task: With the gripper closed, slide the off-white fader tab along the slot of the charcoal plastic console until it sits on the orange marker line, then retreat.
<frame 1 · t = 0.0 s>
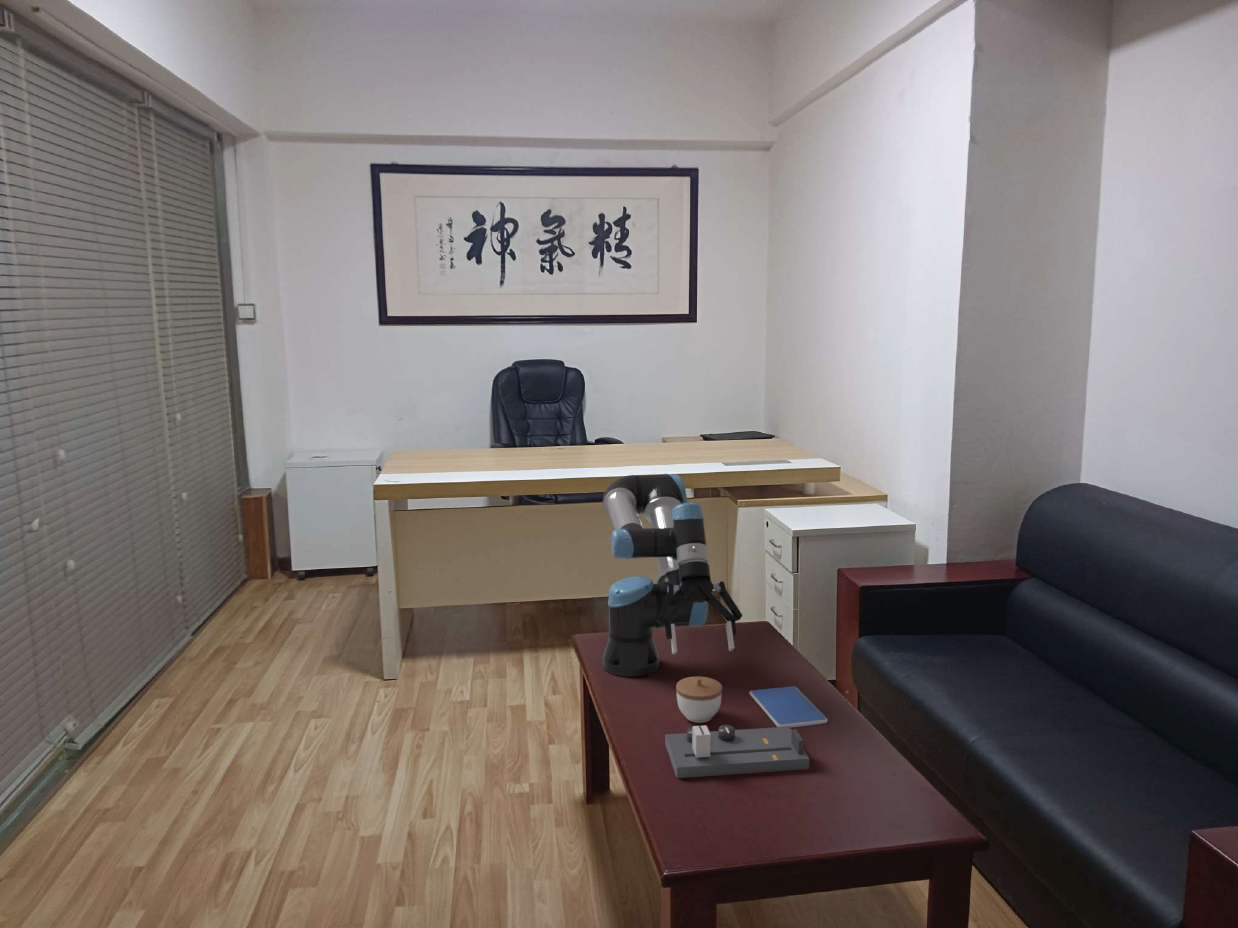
hand: (703, 651, 209), 15 cm above the table, tool tilted 35°, fingers open, 13 cm apart
tablet computer: (787, 709, 214), on the table
console: (735, 756, 192), on the table
lidded jar: (698, 717, 210), on the table
fader tab: (701, 740, 187), point 5 cm above the table, slide at -8.0 cm
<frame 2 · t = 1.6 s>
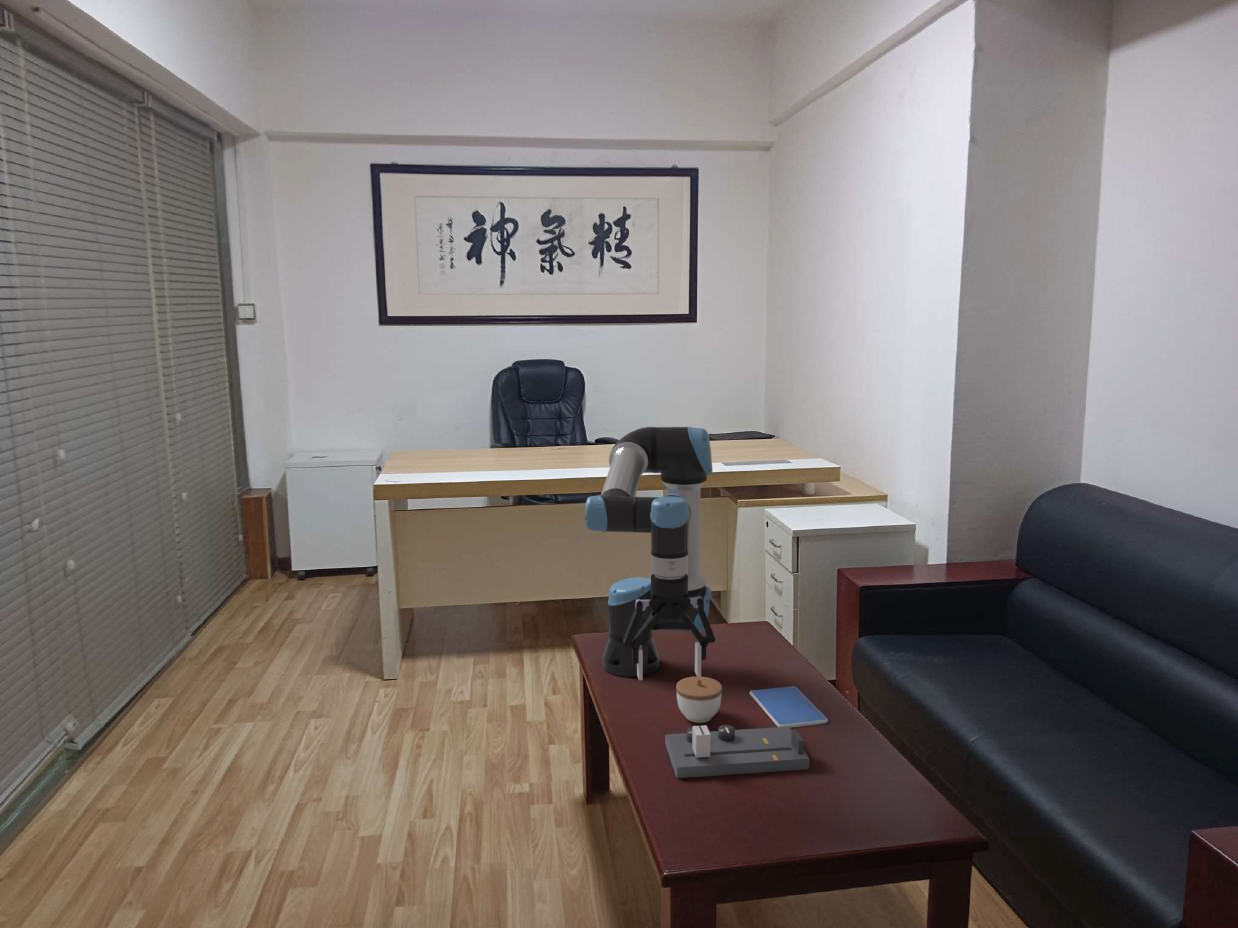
hand: (668, 675, 184), 20 cm above the table, tool pointing down, fingers open, 11 cm apart
nothing on the table moved.
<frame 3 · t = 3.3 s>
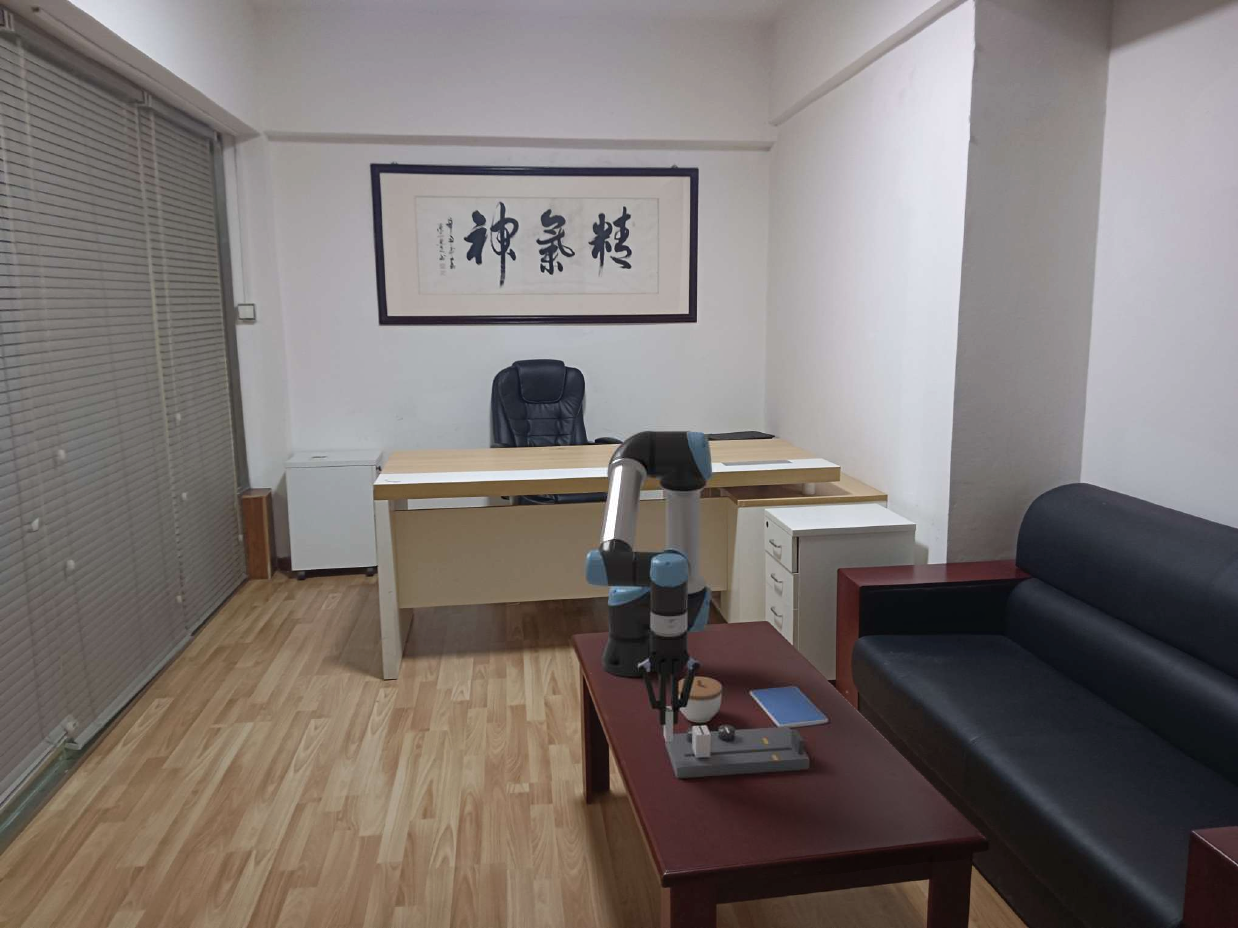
hand: (668, 737, 186), 7 cm above the table, tool pointing down, fingers closed
nothing on the table moved.
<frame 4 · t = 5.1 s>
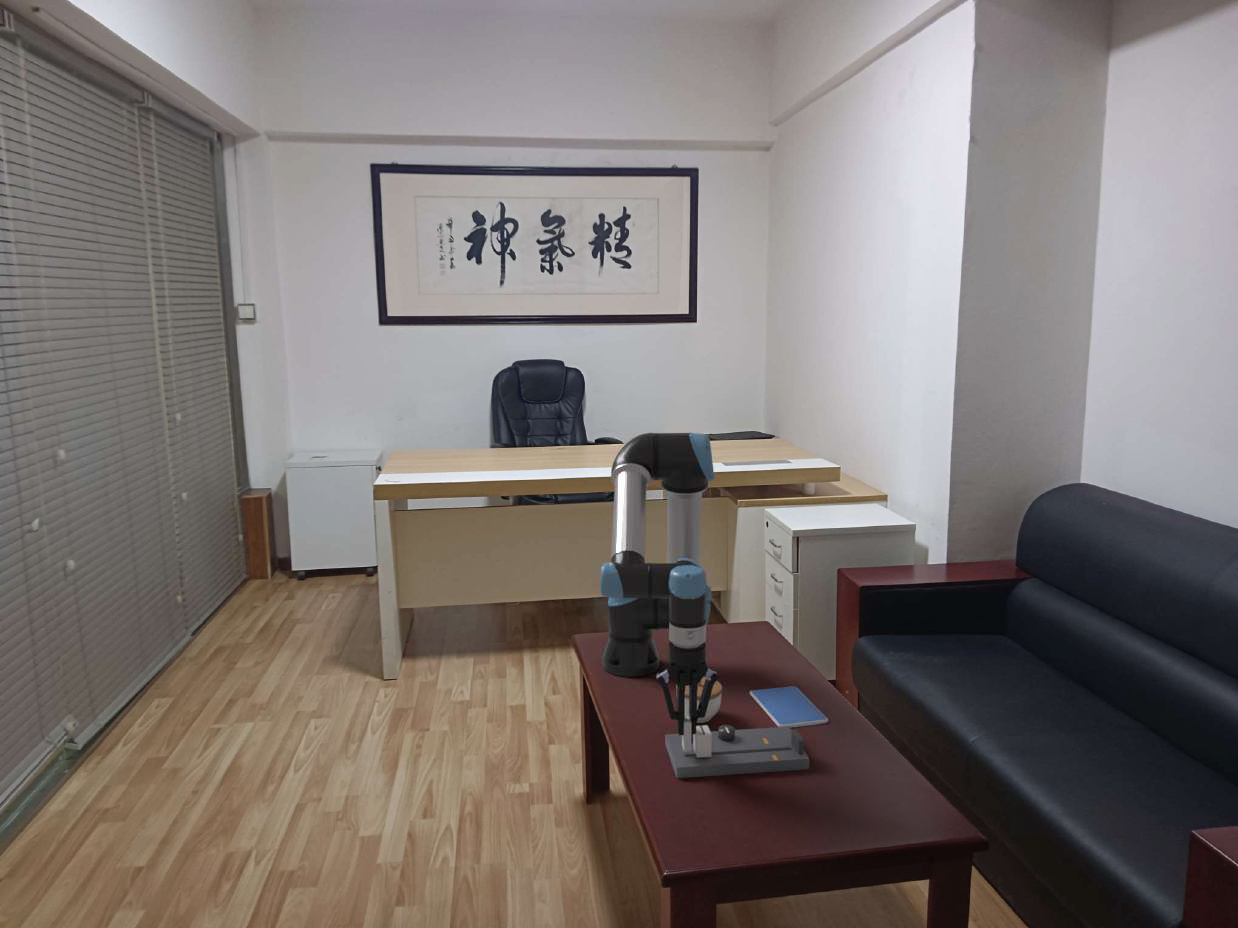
hand: (686, 747, 187), 4 cm above the table, tool pointing down, fingers closed
fader tab: (702, 740, 187), point 5 cm above the table, slide at -7.8 cm, touching gripper
everything else where it was.
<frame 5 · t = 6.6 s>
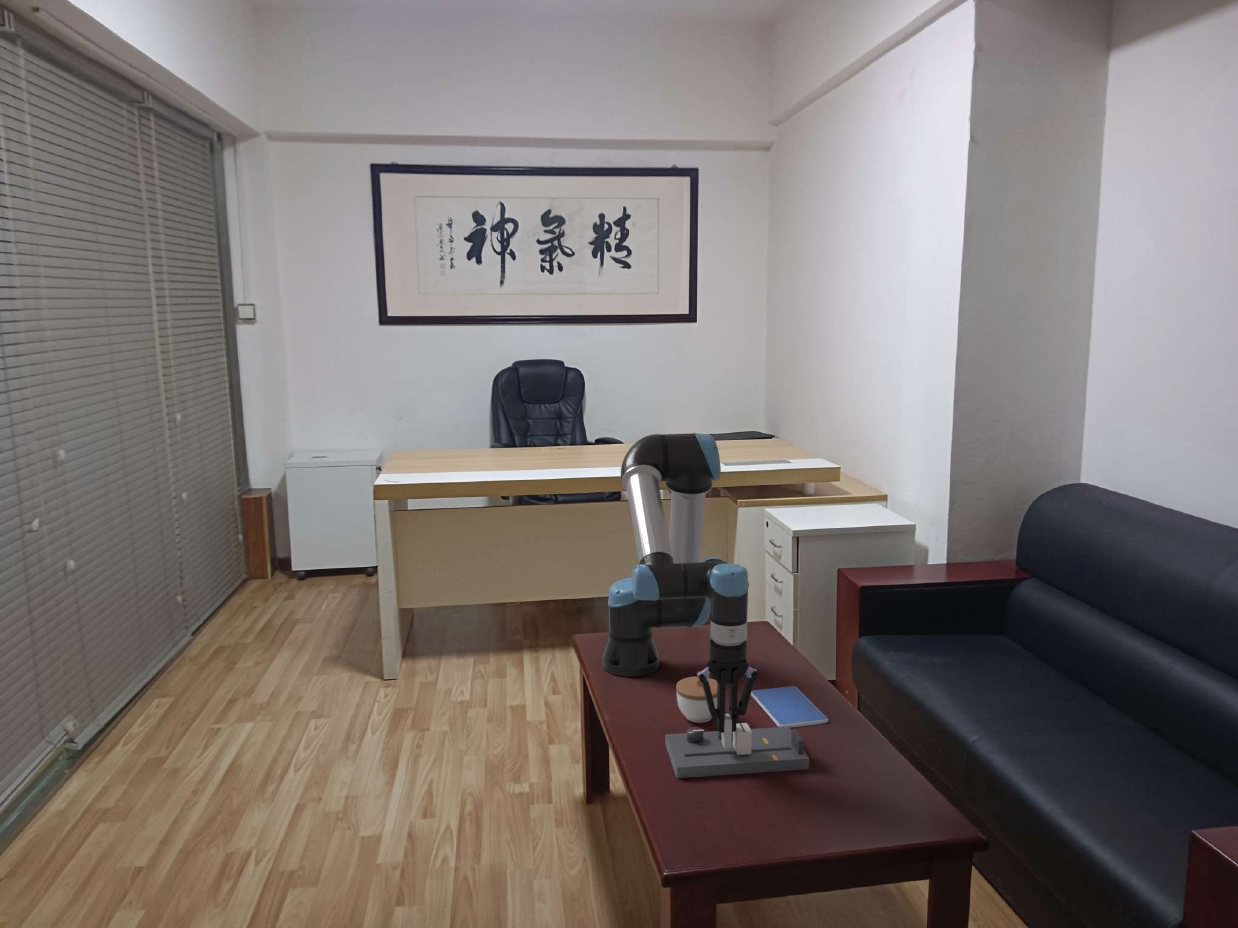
hand: (726, 745, 188), 4 cm above the table, tool pointing down, fingers closed
fader tab: (742, 738, 188), point 5 cm above the table, slide at 0.8 cm, touching gripper
everything else where it was.
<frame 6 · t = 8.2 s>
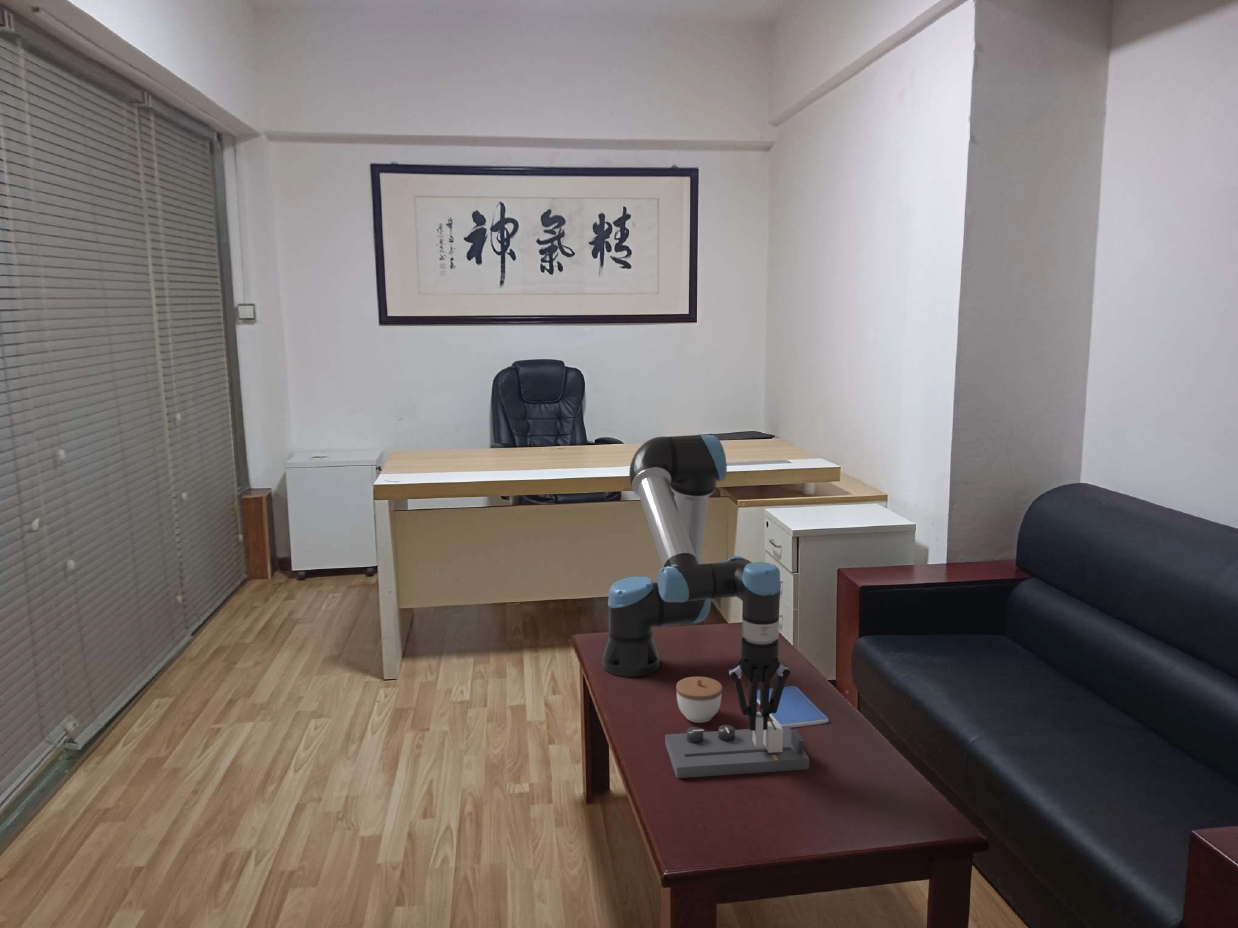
hand: (757, 743, 189), 4 cm above the table, tool pointing down, fingers closed
fader tab: (773, 736, 189), point 5 cm above the table, slide at 7.5 cm, touching gripper
everything else where it was.
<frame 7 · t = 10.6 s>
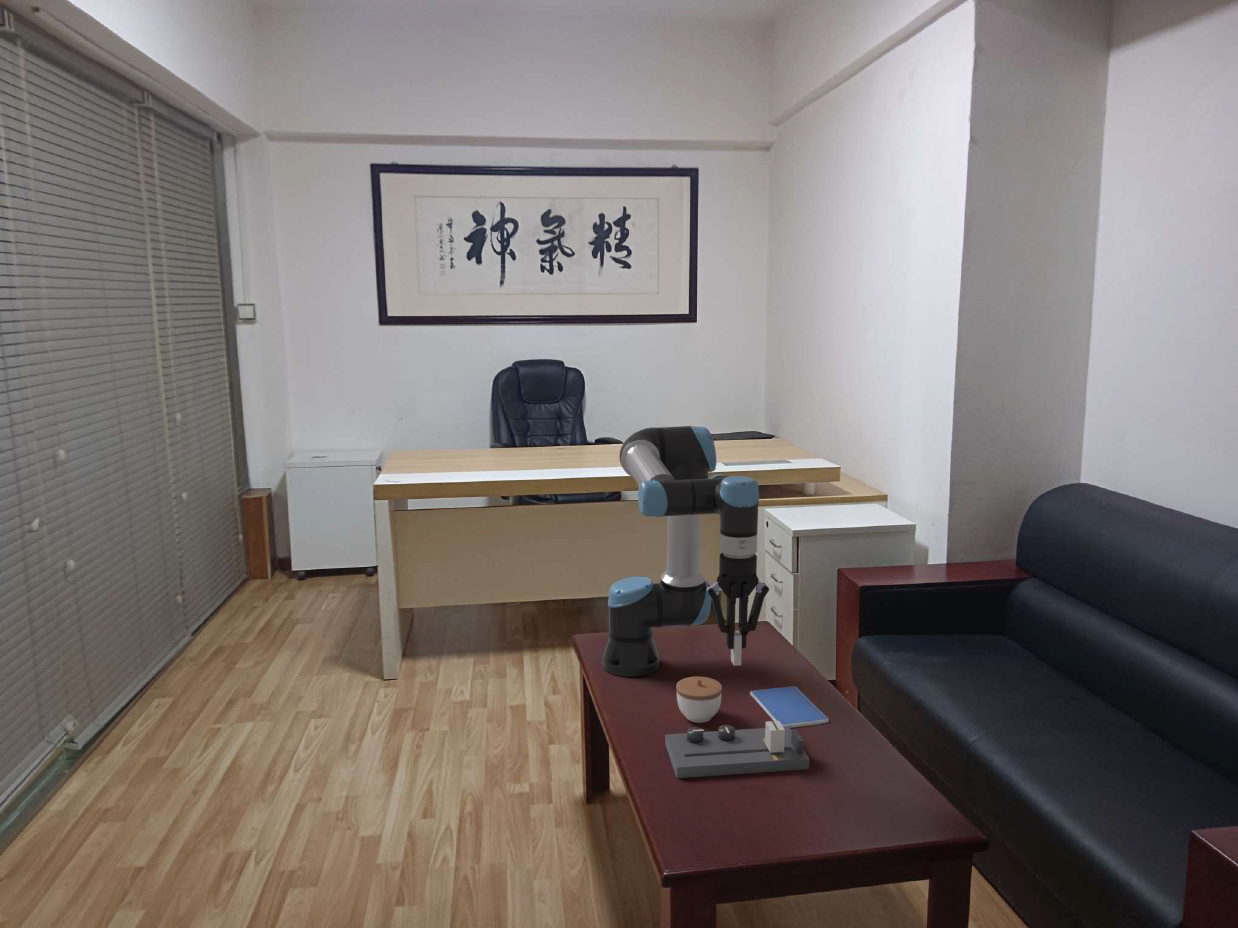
hand: (735, 662, 185), 22 cm above the table, tool pointing down, fingers closed
fader tab: (774, 736, 189), point 5 cm above the table, slide at 7.8 cm
everything else where it was.
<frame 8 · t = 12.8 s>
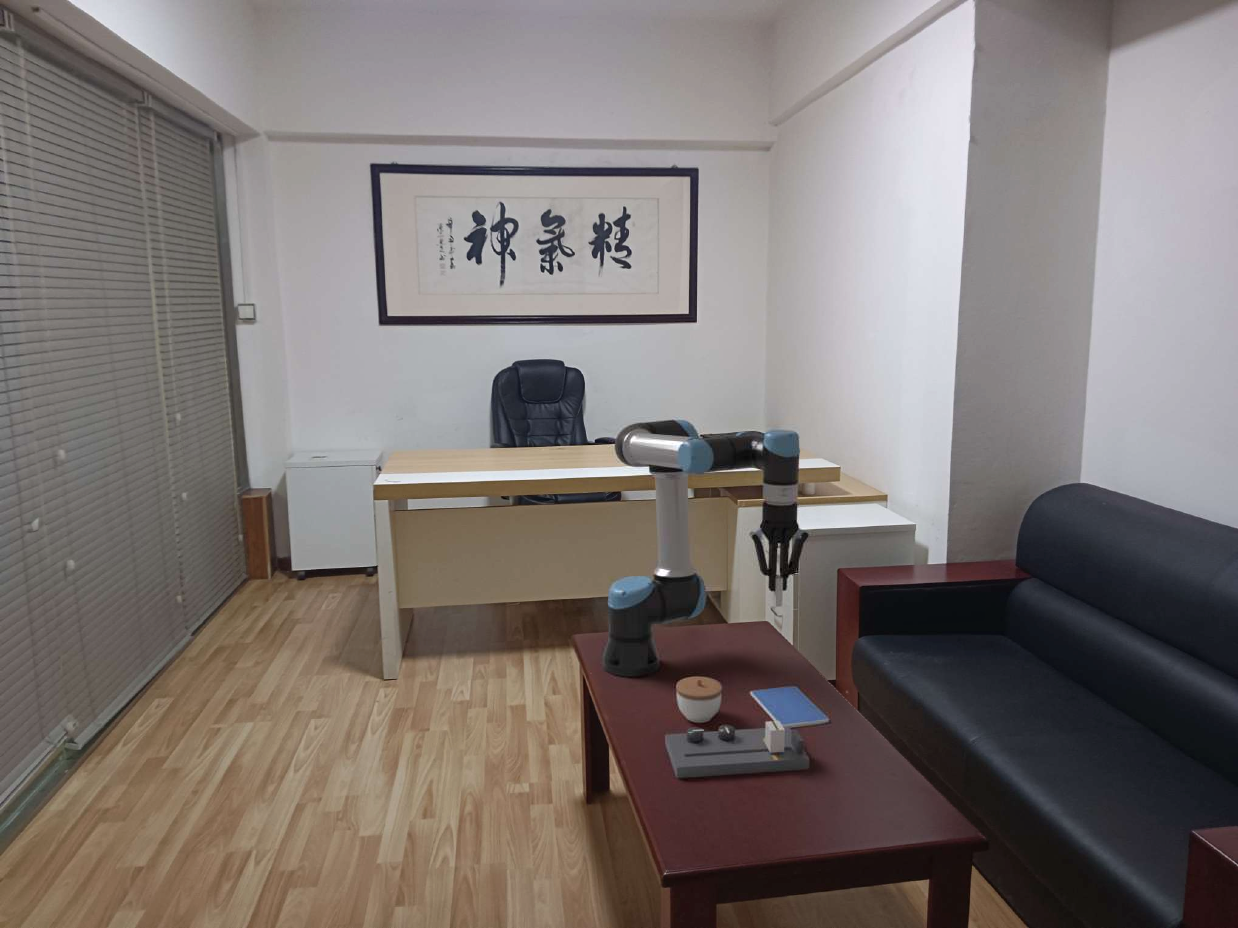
hand: (777, 604, 199), 29 cm above the table, tool pointing down, fingers closed
nothing on the table moved.
at the end: fader tab slide at 7.8 cm; fader tab touching nothing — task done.
